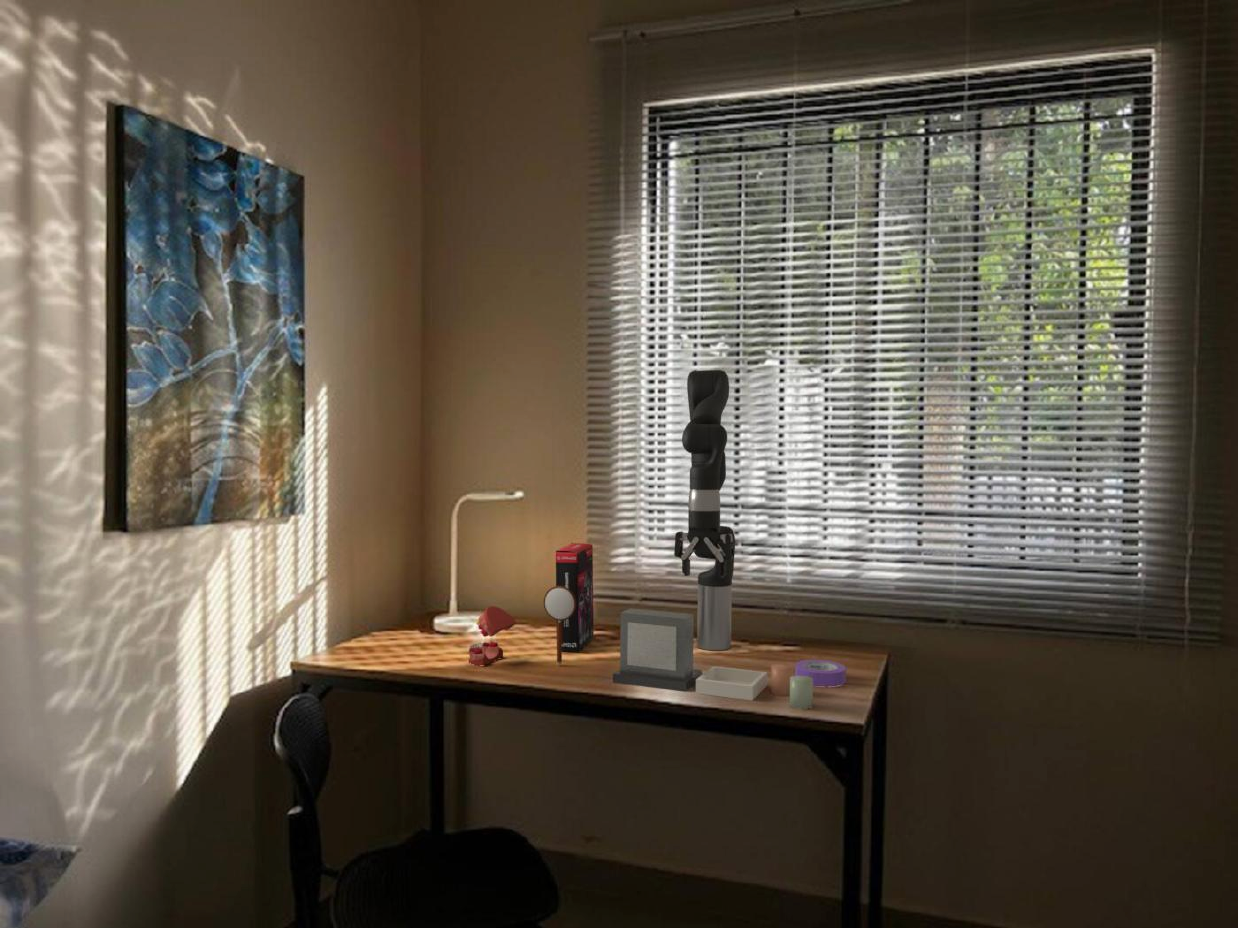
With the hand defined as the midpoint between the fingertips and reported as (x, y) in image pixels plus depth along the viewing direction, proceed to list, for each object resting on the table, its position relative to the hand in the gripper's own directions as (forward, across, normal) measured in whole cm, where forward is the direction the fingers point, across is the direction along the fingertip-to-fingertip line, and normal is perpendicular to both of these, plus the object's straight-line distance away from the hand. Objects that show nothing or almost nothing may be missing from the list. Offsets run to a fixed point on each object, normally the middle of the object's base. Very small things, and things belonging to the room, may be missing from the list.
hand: (703, 576), depth 214 cm
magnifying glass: (+24, +36, +6) cm, 44 cm away
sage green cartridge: (+25, -26, +12) cm, 38 cm away
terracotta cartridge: (+24, -20, +4) cm, 32 cm away
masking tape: (+25, -26, -10) cm, 37 cm away
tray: (+24, -9, +6) cm, 27 cm away
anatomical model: (+24, +54, +11) cm, 60 cm away
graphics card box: (+24, +43, -15) cm, 51 cm away
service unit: (+24, +9, +7) cm, 27 cm away
